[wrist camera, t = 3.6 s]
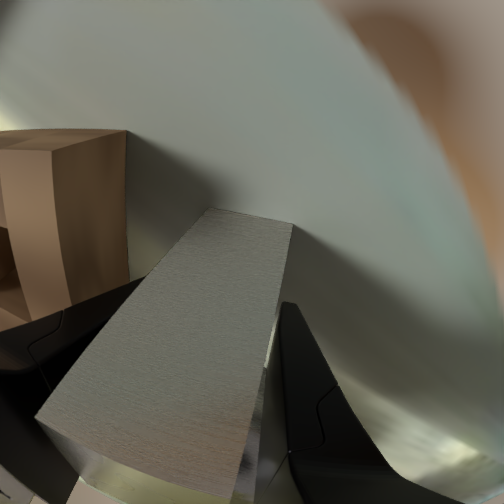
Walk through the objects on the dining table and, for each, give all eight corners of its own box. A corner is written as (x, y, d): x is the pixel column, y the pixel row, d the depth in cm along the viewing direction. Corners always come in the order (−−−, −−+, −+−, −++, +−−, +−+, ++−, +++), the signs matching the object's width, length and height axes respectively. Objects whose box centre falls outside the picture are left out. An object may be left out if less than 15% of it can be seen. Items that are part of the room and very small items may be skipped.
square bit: (278, 294, 12) (219, 532, 4) (204, 278, 13) (87, 483, 5) (292, 224, 11) (230, 499, 3) (209, 207, 11) (33, 417, 3)
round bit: (279, 421, 16) (262, 513, 11) (202, 403, 17) (168, 490, 11) (299, 372, 14) (283, 487, 9) (204, 351, 15) (158, 457, 9)
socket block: (135, 336, 15) (97, 391, 12) (12, 286, 16) (-27, 320, 13) (126, 130, 10) (51, 150, 7) (-13, 132, 11) (-70, 151, 8)
